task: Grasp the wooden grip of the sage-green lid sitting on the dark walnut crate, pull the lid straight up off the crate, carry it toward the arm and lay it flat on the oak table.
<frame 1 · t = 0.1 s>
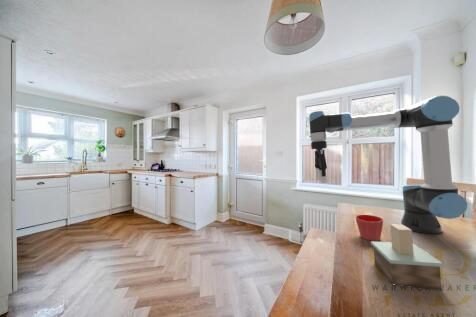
hand: (321, 181, 96), 28 cm above the table, fingers open, 13 cm apart
lid: (402, 254, 61), point 7 cm above the table, touching crate
crate: (404, 275, 61), on the table
flower pot: (370, 238, 89), on the table
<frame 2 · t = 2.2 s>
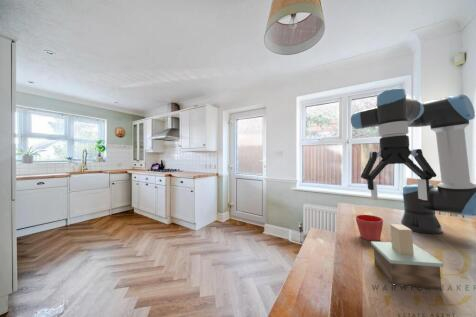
hand: (398, 199, 61), 25 cm above the table, fingers open, 13 cm apart
nothing on the table moved.
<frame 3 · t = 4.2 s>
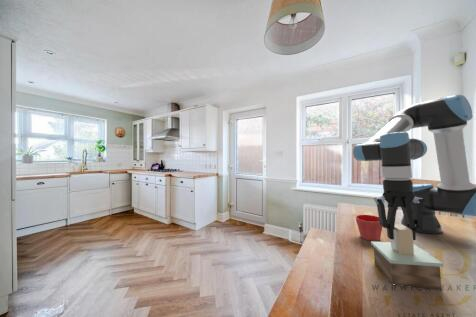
hand: (402, 248, 61), 9 cm above the table, fingers closed on lid, 3 cm apart
lid: (402, 254, 61), point 7 cm above the table, touching crate, gripper
everything else where it was.
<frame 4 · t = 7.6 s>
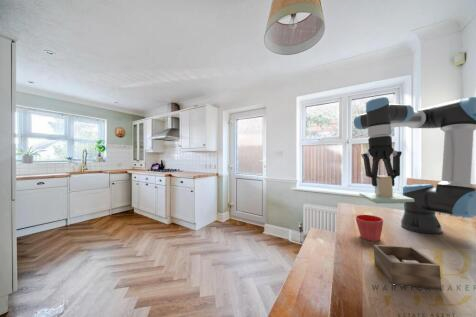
hand: (383, 194, 74), 24 cm above the table, fingers closed on lid, 3 cm apart
lid: (384, 198, 74), point 23 cm above the table, touching gripper
everything else where it was.
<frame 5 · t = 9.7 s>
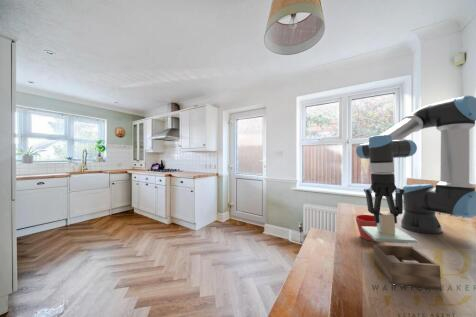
hand: (386, 230, 74), 9 cm above the table, fingers closed on lid, 3 cm apart
lid: (386, 235, 74), point 8 cm above the table, touching gripper
everything else where it was.
when the fingers open (4 cm above the table, at t = 11.3 s): lid drops 2 cm, point 1 cm above the table.
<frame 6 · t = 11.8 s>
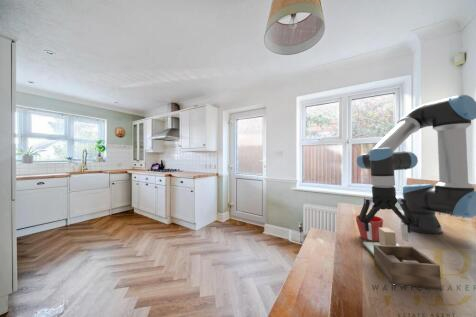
hand: (387, 239, 74), 6 cm above the table, fingers open, 11 cm apart
lid: (388, 252, 74), point 1 cm above the table
everything else where it was.
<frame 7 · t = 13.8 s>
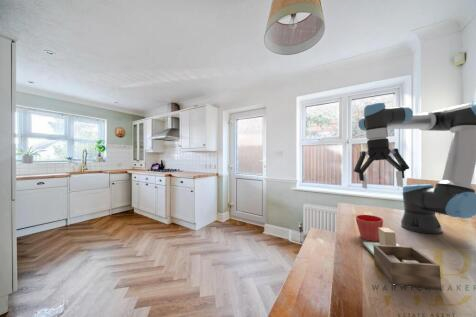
hand: (382, 187, 80), 26 cm above the table, fingers open, 13 cm apart
nothing on the table moved.
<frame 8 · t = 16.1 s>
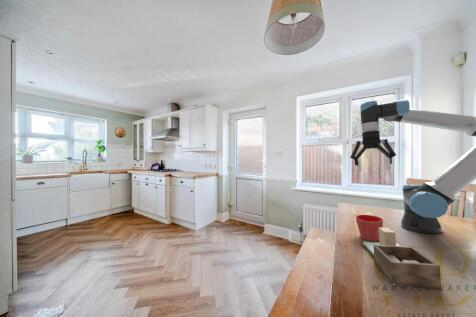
hand: (373, 171, 97), 32 cm above the table, fingers open, 13 cm apart
nothing on the table moved.
at the end: lid inside the target area (0.0 cm from its centre), point 0.8 cm above the table; lid tilted 0°; lid touching table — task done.
